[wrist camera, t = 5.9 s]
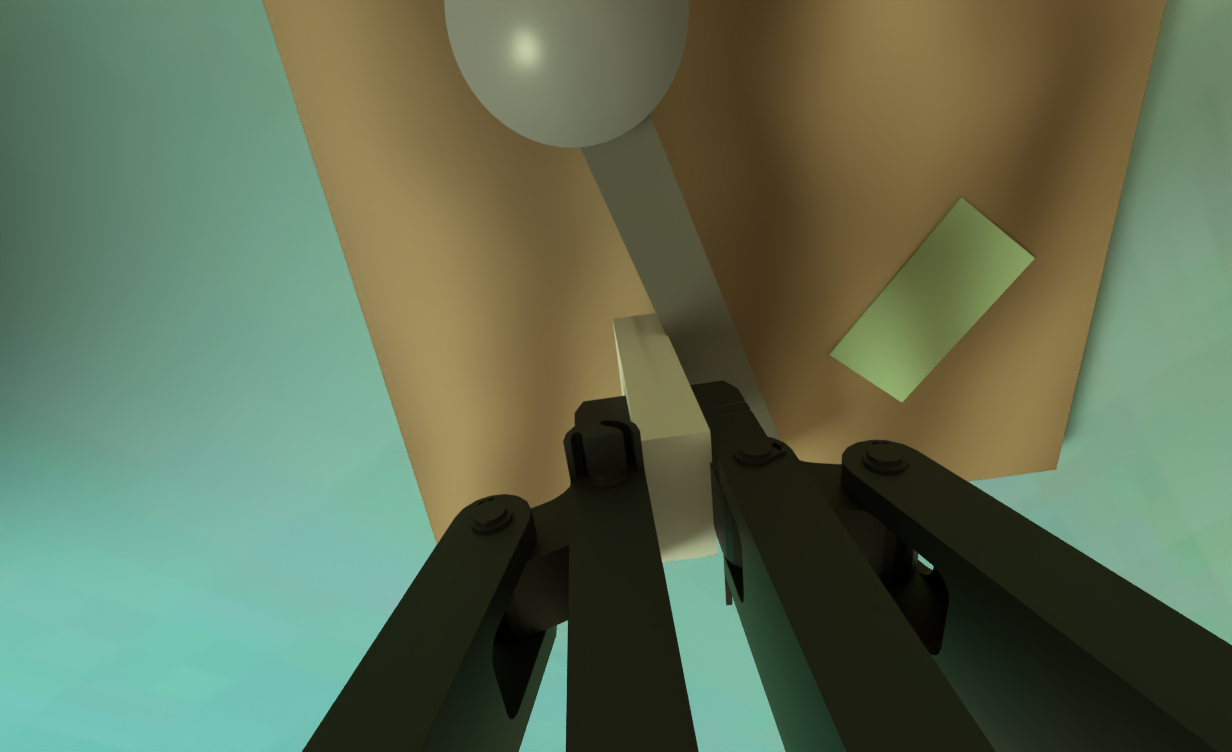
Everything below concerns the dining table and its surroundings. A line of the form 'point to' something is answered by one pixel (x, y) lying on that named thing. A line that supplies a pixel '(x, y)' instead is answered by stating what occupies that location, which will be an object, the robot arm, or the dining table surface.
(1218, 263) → the dining table surface
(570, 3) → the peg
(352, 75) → the board
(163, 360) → the dining table surface
